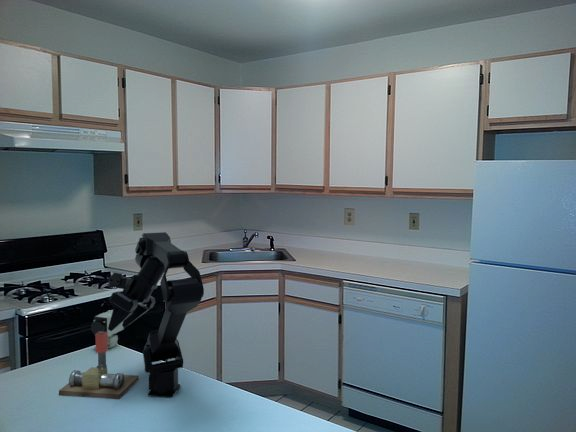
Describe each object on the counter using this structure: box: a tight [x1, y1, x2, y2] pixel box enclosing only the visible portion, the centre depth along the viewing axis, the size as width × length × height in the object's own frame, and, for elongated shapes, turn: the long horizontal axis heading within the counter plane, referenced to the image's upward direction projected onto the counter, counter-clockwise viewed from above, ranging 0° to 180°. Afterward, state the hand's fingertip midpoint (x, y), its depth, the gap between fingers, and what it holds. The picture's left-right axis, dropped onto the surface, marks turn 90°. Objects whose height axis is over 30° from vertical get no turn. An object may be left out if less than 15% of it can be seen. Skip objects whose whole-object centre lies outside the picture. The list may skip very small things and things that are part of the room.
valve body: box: [68, 366, 125, 390], centre depth 116 cm, size 13×4×4 cm, turn 84°
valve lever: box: [94, 331, 109, 369], centre depth 119 cm, size 2×2×11 cm
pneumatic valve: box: [90, 309, 126, 349], centre depth 147 cm, size 6×12×12 cm, turn 161°
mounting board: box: [58, 371, 140, 400], centre depth 118 cm, size 16×11×1 cm
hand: (116, 328), depth 119 cm, fingers open, 9 cm apart
